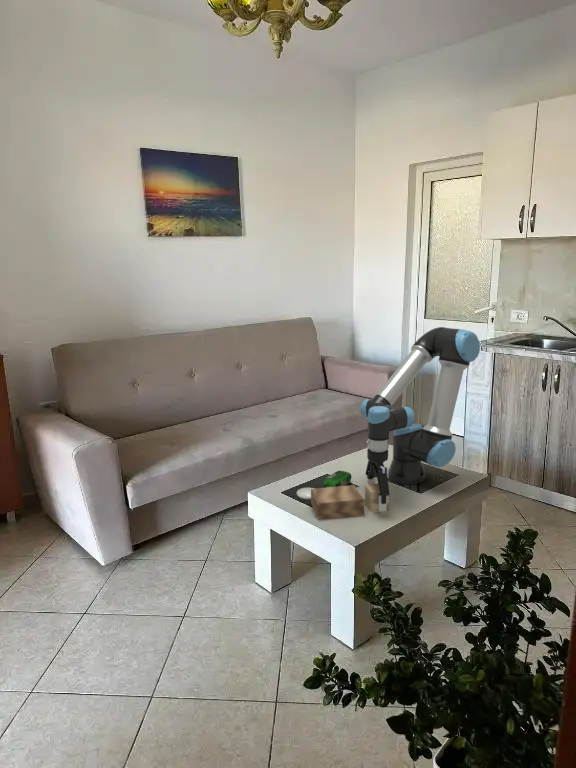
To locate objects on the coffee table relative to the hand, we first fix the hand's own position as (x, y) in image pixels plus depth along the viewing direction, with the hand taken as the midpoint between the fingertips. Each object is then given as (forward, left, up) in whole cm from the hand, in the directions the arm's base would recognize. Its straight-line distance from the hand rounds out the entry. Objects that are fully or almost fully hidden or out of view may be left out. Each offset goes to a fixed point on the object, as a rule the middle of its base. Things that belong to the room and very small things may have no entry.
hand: (376, 502), depth 197 cm
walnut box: (+15, -1, -2) cm, 15 cm away
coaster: (+23, -16, -2) cm, 28 cm away
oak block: (0, 0, -2) cm, 2 cm away
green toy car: (+10, -21, -2) cm, 23 cm away
